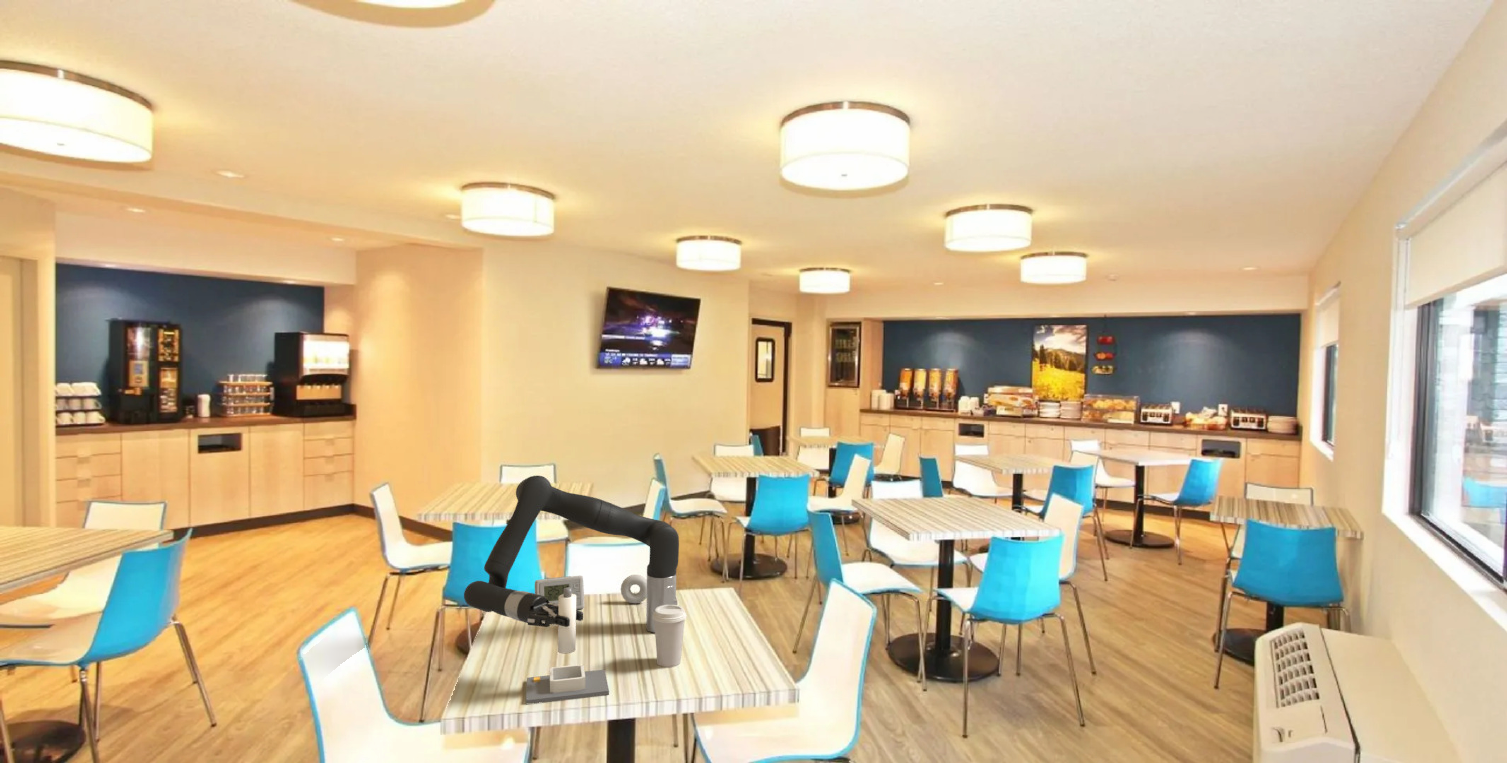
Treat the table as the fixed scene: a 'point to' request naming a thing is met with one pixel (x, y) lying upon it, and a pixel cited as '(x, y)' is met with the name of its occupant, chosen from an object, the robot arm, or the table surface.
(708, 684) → the table surface
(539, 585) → the digital thermostat
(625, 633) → the table surface
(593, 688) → the floor socket
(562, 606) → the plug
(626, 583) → the donut
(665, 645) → the coffee cup
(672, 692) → the table surface
